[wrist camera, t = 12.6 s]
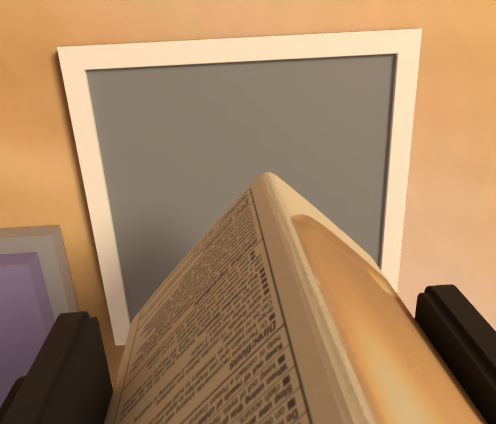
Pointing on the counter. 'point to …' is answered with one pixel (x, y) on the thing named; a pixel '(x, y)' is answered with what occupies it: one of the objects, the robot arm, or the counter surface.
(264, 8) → the counter surface
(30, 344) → the ink pad
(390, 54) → the white picture frame
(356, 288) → the skincare box
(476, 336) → the robot arm
